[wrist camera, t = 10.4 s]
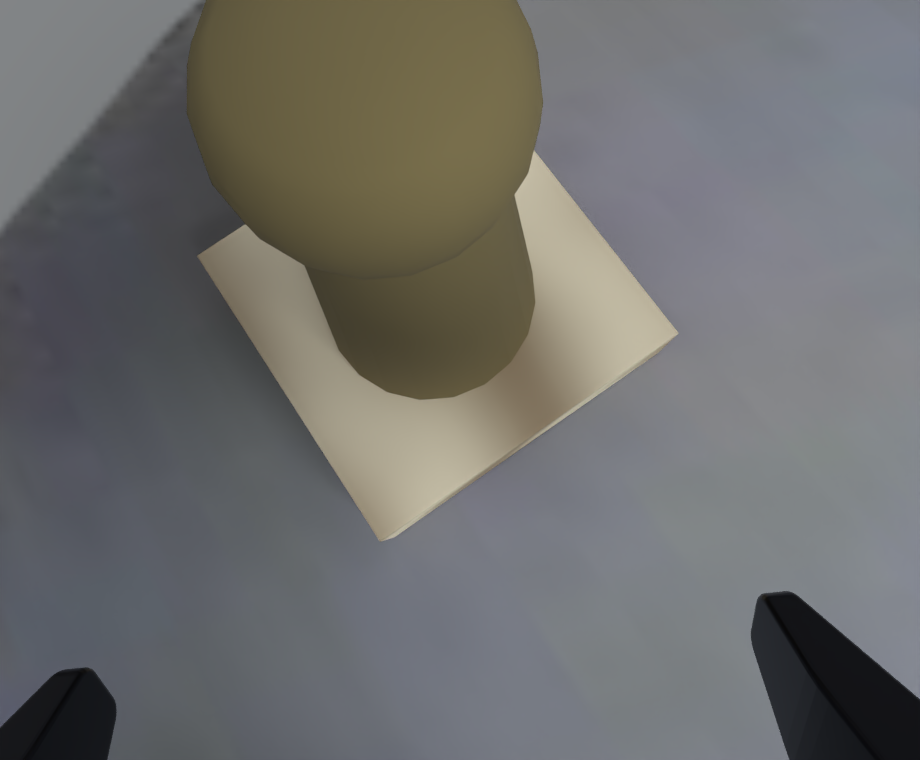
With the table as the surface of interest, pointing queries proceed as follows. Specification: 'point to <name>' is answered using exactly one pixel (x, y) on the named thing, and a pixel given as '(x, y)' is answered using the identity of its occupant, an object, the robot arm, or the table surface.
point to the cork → (382, 169)
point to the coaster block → (469, 414)
